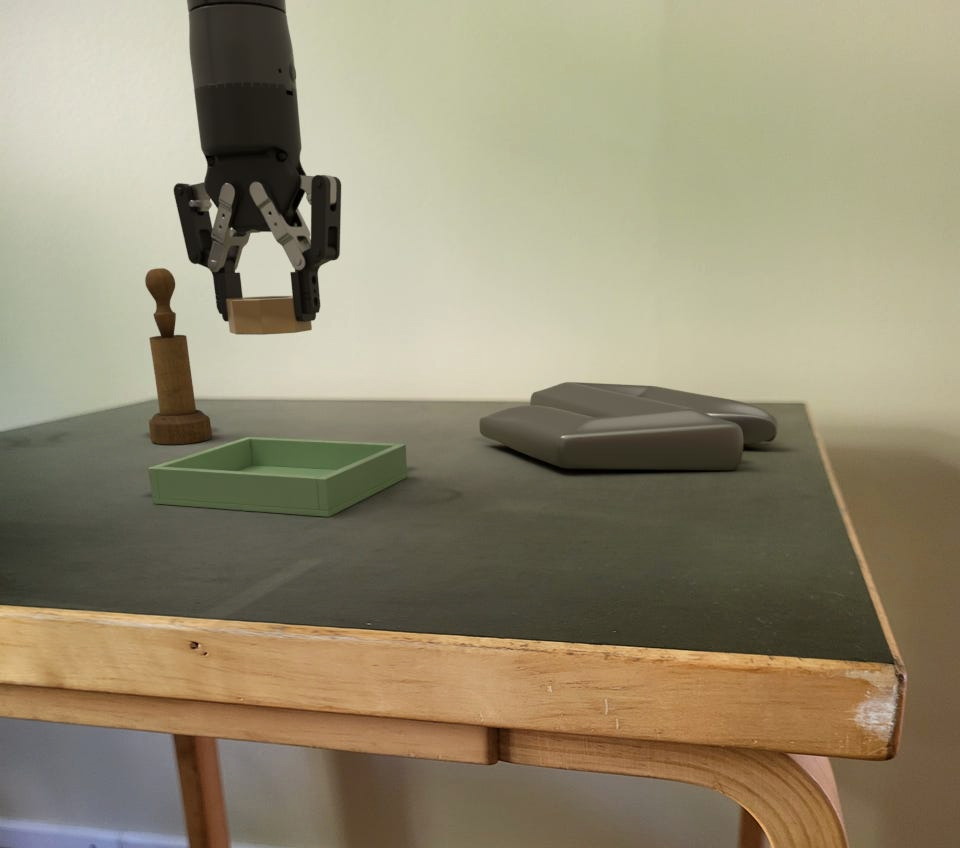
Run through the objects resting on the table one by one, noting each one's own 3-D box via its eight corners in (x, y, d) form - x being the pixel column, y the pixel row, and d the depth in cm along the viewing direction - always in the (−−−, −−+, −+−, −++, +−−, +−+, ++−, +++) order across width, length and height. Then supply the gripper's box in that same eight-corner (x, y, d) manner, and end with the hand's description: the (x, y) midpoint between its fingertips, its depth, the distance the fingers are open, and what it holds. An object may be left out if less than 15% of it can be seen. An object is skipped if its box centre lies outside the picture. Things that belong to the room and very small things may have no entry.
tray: (152, 503, 81) (147, 468, 79) (250, 468, 93) (247, 436, 92) (329, 517, 75) (325, 478, 74) (407, 477, 88) (405, 444, 86)
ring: (216, 334, 77) (212, 300, 76) (259, 328, 83) (256, 296, 82) (283, 334, 75) (280, 299, 74) (323, 328, 80) (320, 295, 80)
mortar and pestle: (170, 447, 105) (144, 269, 98) (140, 441, 109) (113, 269, 102) (223, 438, 109) (202, 267, 102) (192, 432, 113) (170, 267, 106)
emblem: (426, 405, 92) (567, 372, 114) (429, 461, 94) (567, 418, 116) (707, 426, 78) (808, 383, 99) (703, 491, 80) (803, 436, 101)
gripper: (133, 87, 72) (167, 324, 78) (303, 69, 67) (324, 324, 73) (195, 99, 78) (222, 318, 84) (354, 84, 73) (370, 317, 79)
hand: (269, 320), depth 78 cm, fingers closed on ring, 6 cm apart
